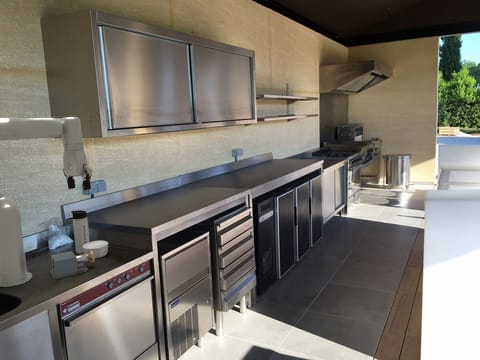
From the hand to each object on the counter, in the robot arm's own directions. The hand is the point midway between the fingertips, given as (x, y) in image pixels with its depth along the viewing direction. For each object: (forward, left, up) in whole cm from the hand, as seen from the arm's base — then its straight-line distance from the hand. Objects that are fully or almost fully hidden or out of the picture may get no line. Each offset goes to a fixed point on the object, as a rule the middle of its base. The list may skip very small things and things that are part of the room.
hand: (79, 189), depth 170 cm
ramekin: (+7, +11, -33) cm, 36 cm away
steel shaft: (-4, -3, -31) cm, 31 cm away
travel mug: (+3, +19, -33) cm, 38 cm away
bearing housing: (-8, -3, -33) cm, 34 cm away
